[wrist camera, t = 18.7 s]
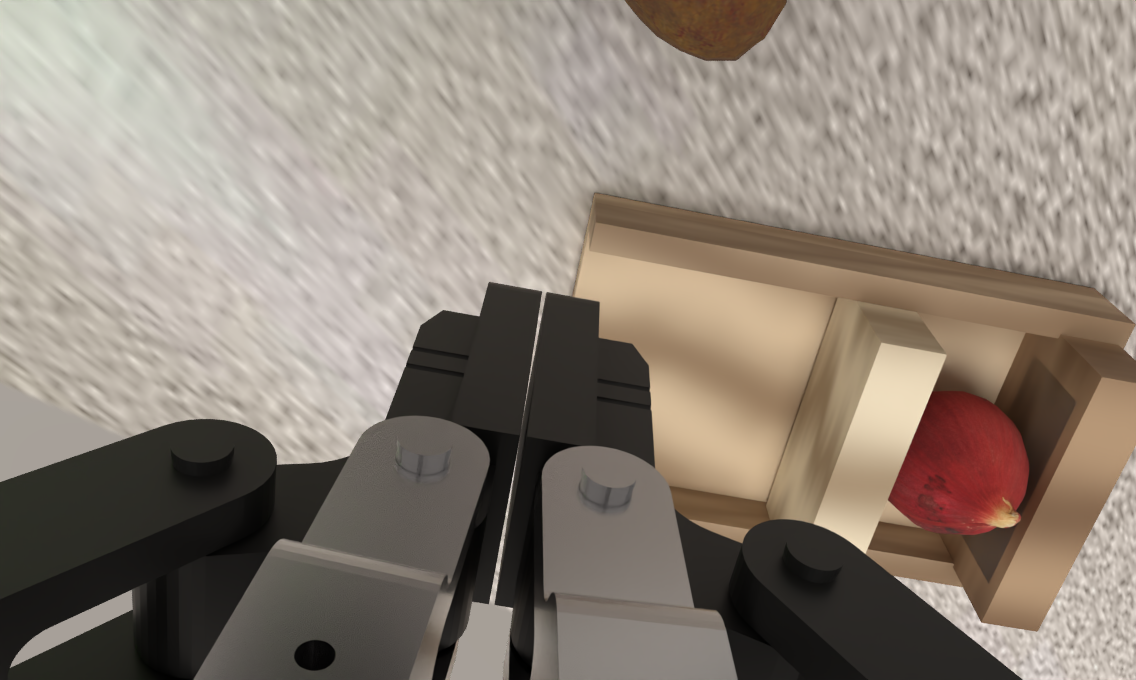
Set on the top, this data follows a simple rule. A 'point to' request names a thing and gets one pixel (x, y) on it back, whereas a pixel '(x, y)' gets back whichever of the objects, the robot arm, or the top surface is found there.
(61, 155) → the top surface
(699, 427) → the vise base
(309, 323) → the top surface
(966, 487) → the onion
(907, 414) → the jaw
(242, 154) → the top surface
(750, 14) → the potato
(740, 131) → the top surface
